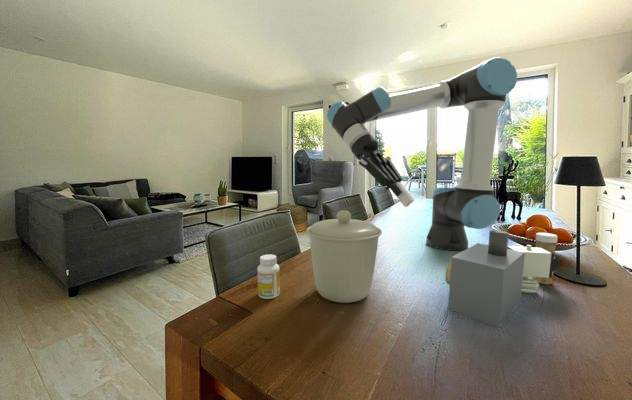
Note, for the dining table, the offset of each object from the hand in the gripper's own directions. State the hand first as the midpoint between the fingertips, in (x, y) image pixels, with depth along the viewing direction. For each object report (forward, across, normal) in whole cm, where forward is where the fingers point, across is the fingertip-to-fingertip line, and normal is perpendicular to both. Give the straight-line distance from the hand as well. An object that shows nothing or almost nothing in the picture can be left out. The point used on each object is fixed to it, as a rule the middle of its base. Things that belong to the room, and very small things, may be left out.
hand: (409, 203), depth 76 cm
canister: (+11, +18, -21) cm, 29 cm away
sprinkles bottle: (+33, -28, +2) cm, 44 cm away
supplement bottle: (+2, +32, -29) cm, 43 cm away
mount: (+29, -2, -2) cm, 29 cm away
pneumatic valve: (+32, -18, +1) cm, 37 cm away
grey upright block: (+21, -4, +7) cm, 23 cm away
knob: (+25, 0, -1) cm, 25 cm away
